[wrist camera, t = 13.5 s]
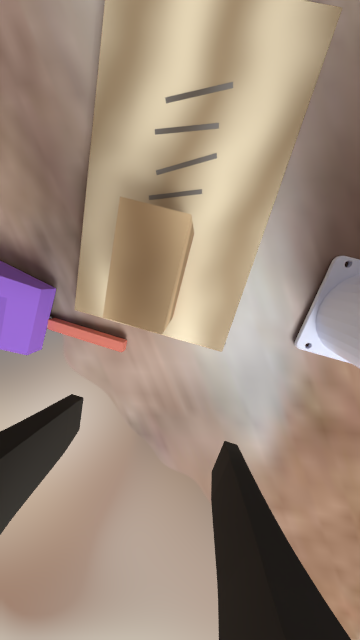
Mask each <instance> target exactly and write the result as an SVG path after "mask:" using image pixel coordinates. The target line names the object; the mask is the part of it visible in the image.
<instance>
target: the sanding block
mask: <svg viewBox="0 0 360 640" xmlns="http://www.w3.org/2000/svg"><path fill="white" fill-rule="evenodd" d="M193 236H194V228H193V222H192V215H191V214H188V213H184V212H180V211H176V210H172V209H168V208H164V207H160V206H156V205H152V204H148V203H144V202H140V201H136V200H132V199H128V198H124V197H120V200H119V207H118V214H117V221H116V228H115V235H114V241H113V248H112V255H111V262H110V269H109V276H108V283H107V290H106V297H105V304H104V311H103V318H106V319H110V320H113V321H117V322H120V323H124V324H127V325H131V326H134V327H138V328H141V329H145V330H148V331H152V332H155V333H159V334H163V332H164V331H165V329H166V328H167V326H168V324H169V323H170V321H171V320H172V318H173V315H174V311H175V307H176V303H177V299H178V295H179V291H180V287H181V283H182V280H183V276H184V272H185V268H186V264H187V260H188V256H189V252H190V248H191V244H192V240H193Z"/></svg>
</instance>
